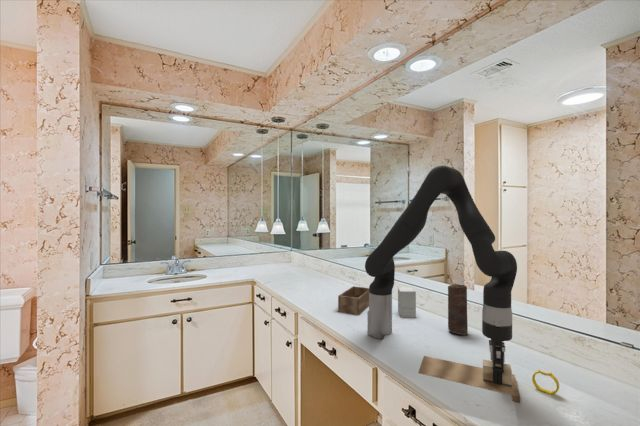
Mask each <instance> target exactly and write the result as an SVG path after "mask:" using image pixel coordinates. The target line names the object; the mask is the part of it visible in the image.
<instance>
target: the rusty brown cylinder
mask: <svg viewBox="0 0 640 426" xmlns="http://www.w3.org/2000/svg"><path fill="white" fill-rule="evenodd" d="M468 326H469V325H468V287H467V285H465V284H458V283H453V284H450V285H447V329H448V331H450V332H451V333H454V334H457V335H464V336H467V335H468V334H469V333H468V332H469V331H468V330H469V329H468Z"/></svg>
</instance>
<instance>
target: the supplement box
mask: <svg viewBox="0 0 640 426" xmlns="http://www.w3.org/2000/svg"><path fill="white" fill-rule="evenodd" d="M416 292H417V291H416V290H415V289H414V288H413V287H399V286H398V287H397V312H398V315H399V316H400V318H414V319H415V318H416V319H417V297H416V296H417V293H416Z"/></svg>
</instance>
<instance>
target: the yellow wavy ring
mask: <svg viewBox="0 0 640 426" xmlns="http://www.w3.org/2000/svg"><path fill="white" fill-rule="evenodd" d="M537 374H541V375H543V376H547V377H551V378H552V380H553V381H554V382H555V384H556V389H555V390H552V391H550V390H549V389H545V388H543V387H540V385H539V384H538V383H537V381H536V375H537ZM531 381H532V384H533V385H534V387H535V388H536V389H537V390H538V391H541V392H543V393H546V394H547V395H555V394H557V393H558V391H559V390H560V382H559V380H558V378H557V377H556V376H555V375H554V374H553V373H552V371H551V370H549V369H547V368H543V367H542V368H539V369H538V370H536V371H535V372H534V373H533V374H532V378H531Z"/></svg>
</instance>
